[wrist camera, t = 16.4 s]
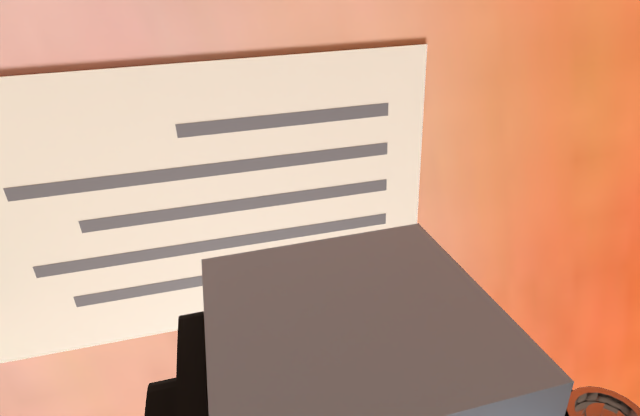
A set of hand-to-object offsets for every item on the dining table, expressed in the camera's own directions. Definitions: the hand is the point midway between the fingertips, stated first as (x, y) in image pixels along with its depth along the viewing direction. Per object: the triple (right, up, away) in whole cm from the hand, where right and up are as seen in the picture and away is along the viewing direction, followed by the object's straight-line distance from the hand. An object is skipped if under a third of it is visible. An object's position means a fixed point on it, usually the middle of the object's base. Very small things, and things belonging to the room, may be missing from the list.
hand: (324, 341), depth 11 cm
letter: (-5, +3, +7) cm, 9 cm away
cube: (0, 0, 0) cm, 1 cm away
